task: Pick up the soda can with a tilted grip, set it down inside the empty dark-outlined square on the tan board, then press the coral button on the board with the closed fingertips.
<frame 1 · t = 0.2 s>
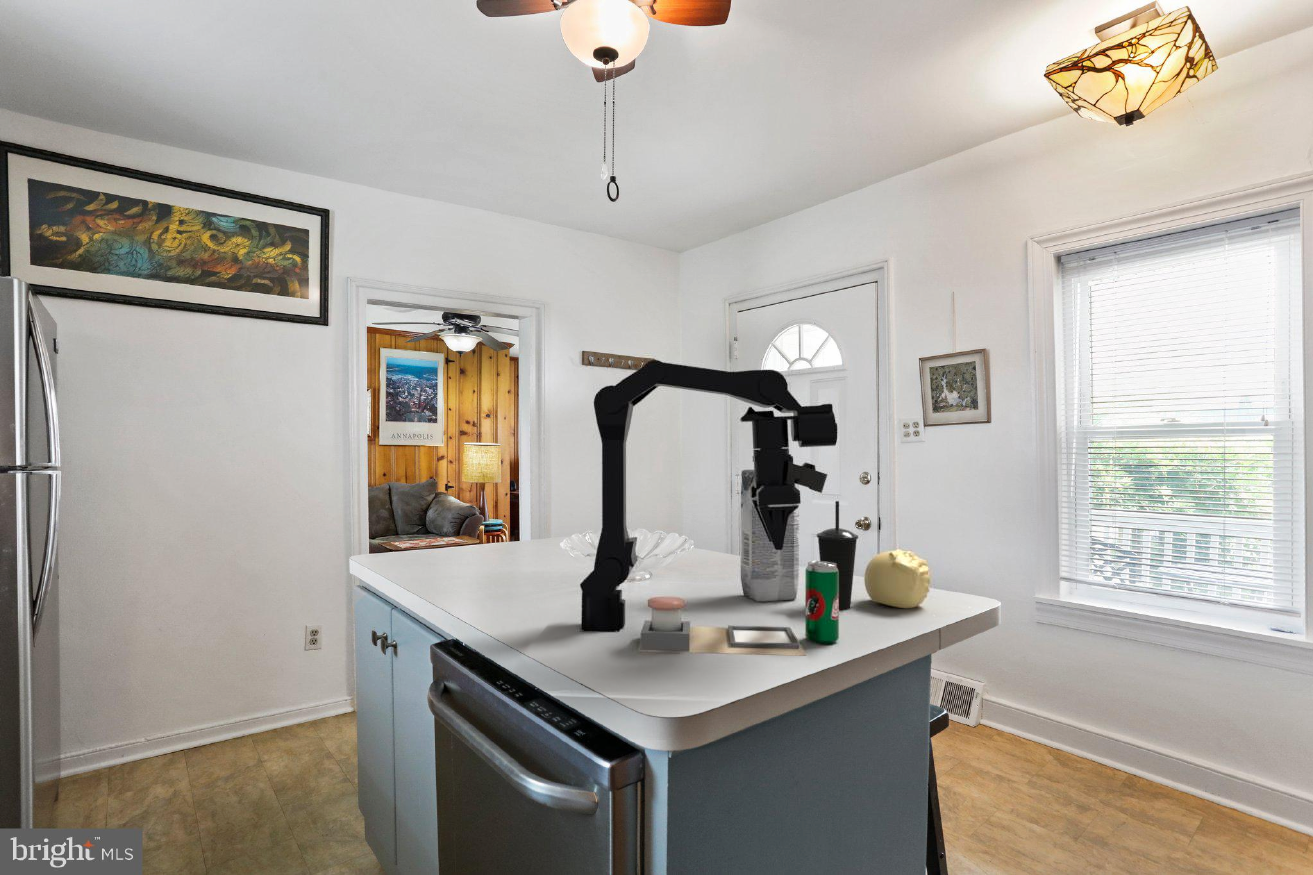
hand: (775, 545, 107), 14 cm above the counter, tool pointing down, fingers open, 9 cm apart
board: (719, 643, 102), on the counter
soda can: (821, 641, 104), on the counter
drinking cup: (837, 607, 126), on the counter
juice carton: (769, 598, 134), on the counter
button housing: (666, 643, 99), resting on board
button: (666, 615, 100), point 5 cm above the counter, slide at 0.0 cm
sculpture: (897, 605, 129), on the counter
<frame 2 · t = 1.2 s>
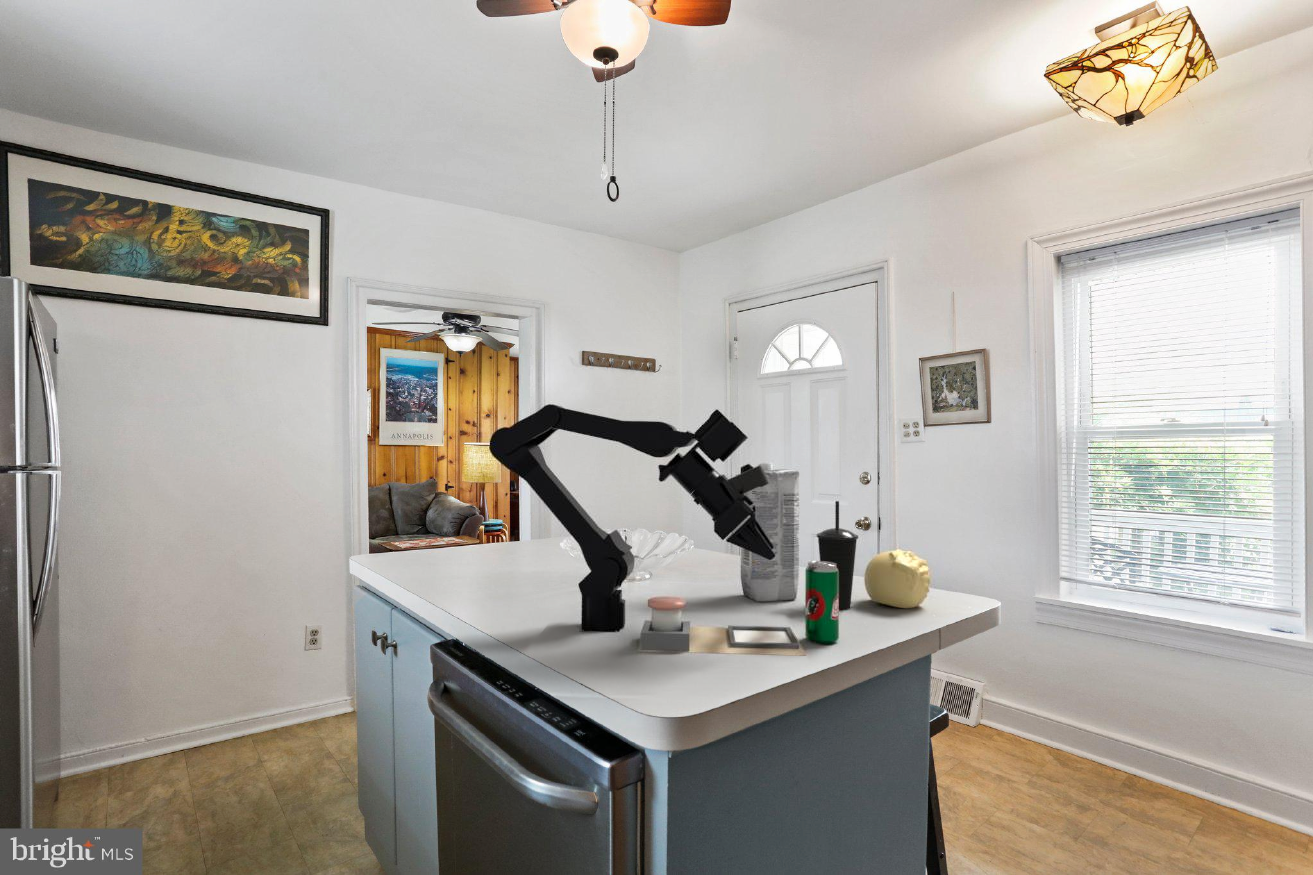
hand: (772, 553, 105), 13 cm above the counter, tool tilted 45°, fingers open, 9 cm apart
nothing on the counter moved.
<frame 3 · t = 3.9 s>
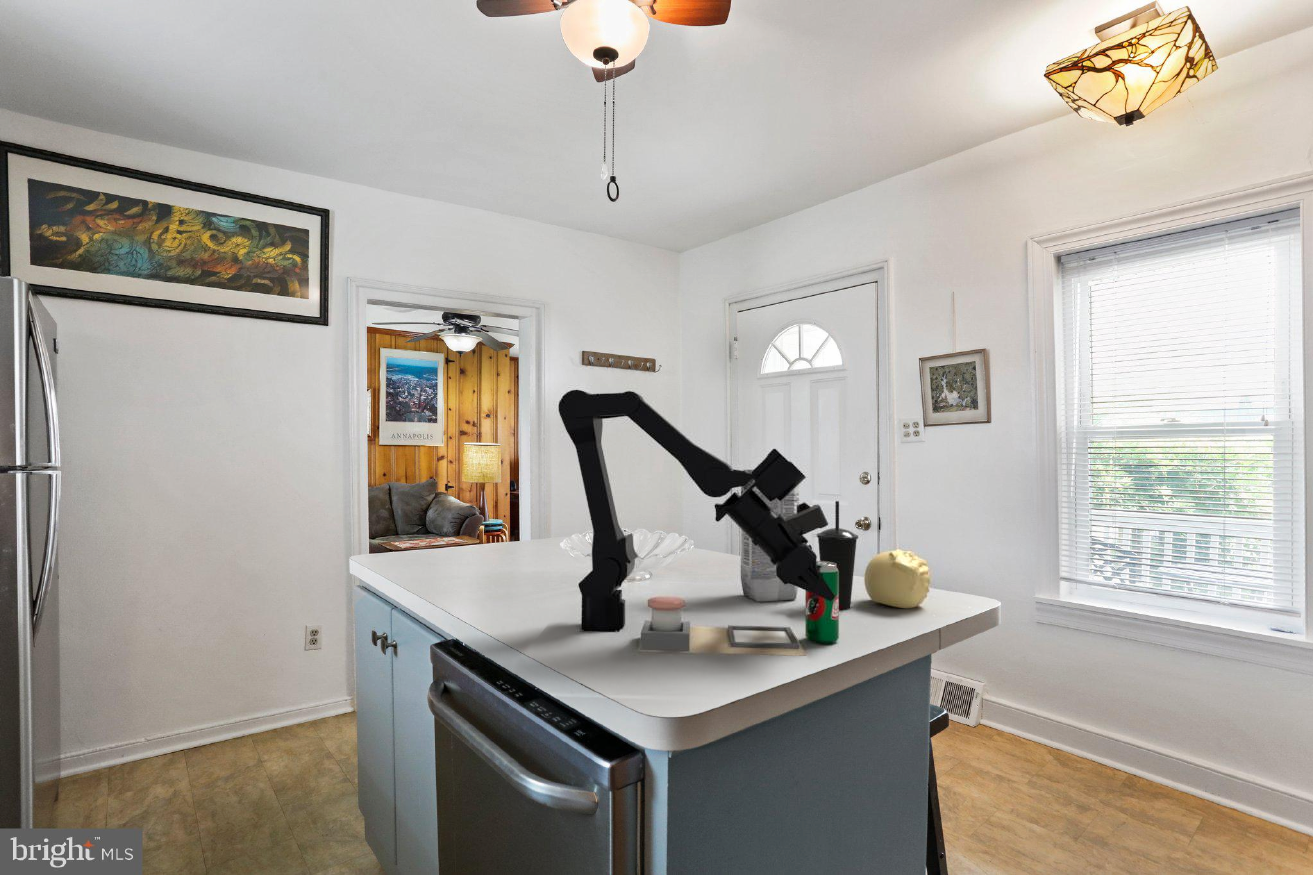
hand: (831, 595, 104), 7 cm above the counter, tool tilted 45°, fingers closed on soda can, 5 cm apart
soda can: (821, 641, 104), on the counter, touching gripper
everything else where it was.
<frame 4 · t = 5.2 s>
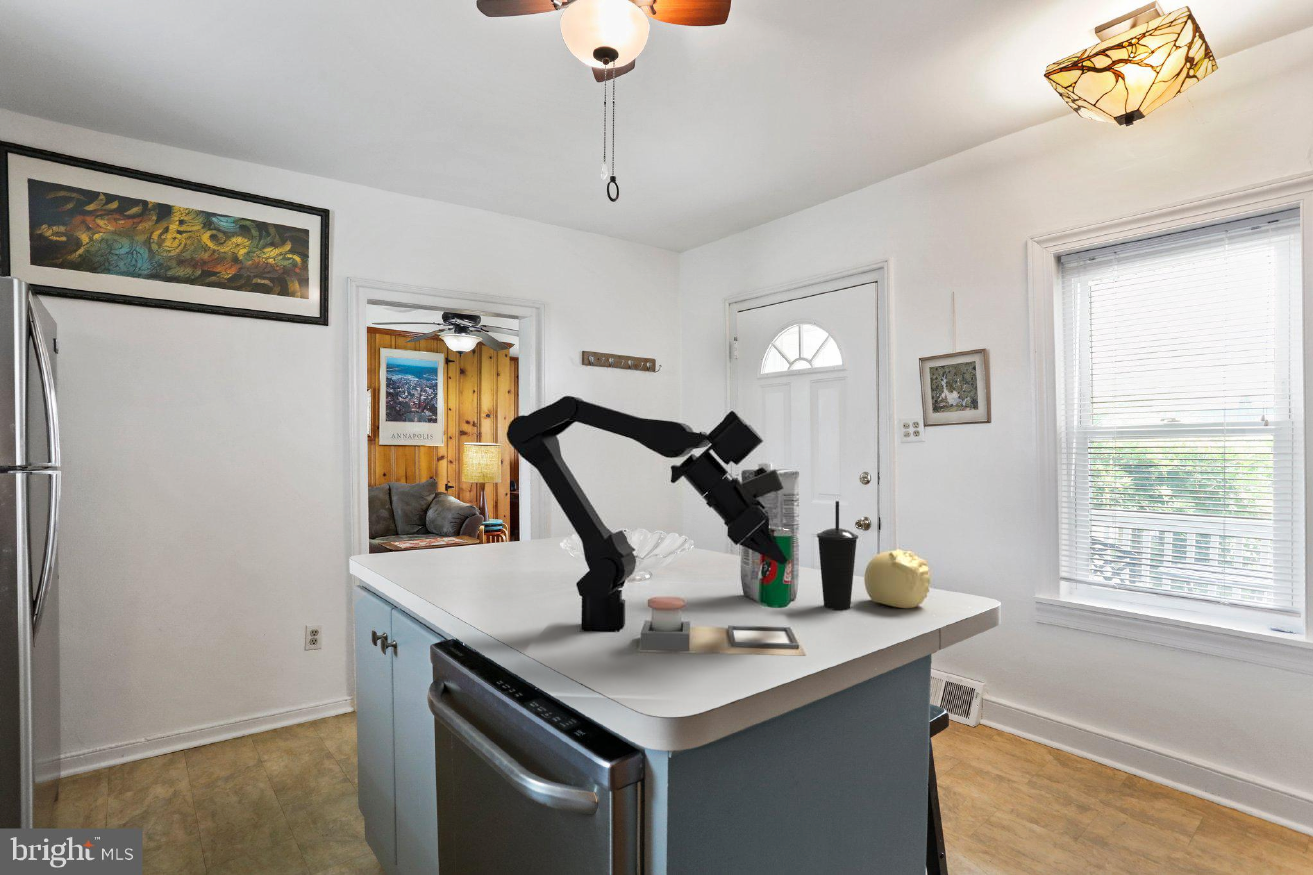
hand: (784, 559, 103), 13 cm above the counter, tool tilted 45°, fingers closed on soda can, 5 cm apart
soda can: (773, 606, 103), point 5 cm above the counter, touching gripper
everything else where it was.
when the fingers open (9 cm above the counter, at t = 6.8 s): soda can stays where it is, resting on board.
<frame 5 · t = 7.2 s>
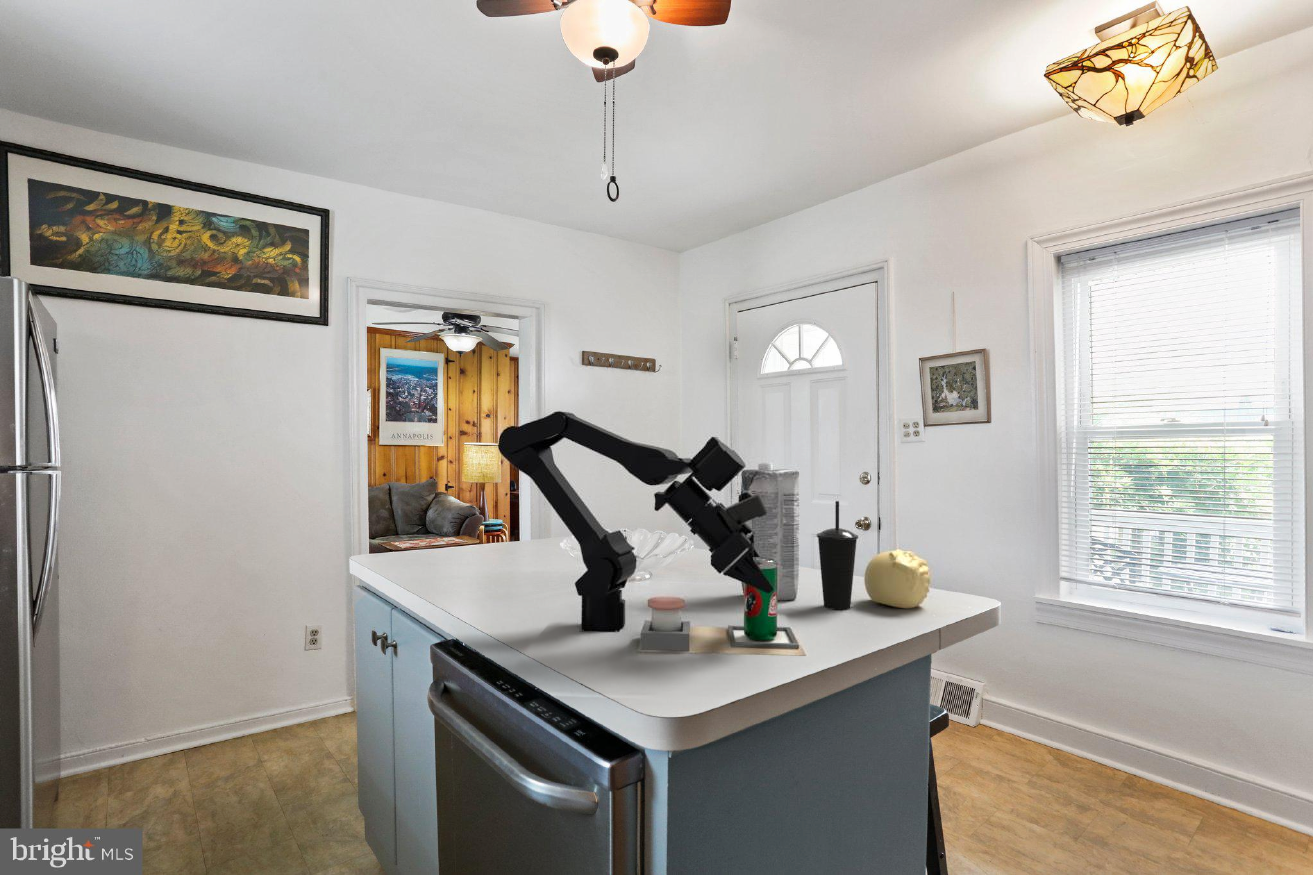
hand: (771, 584, 102), 9 cm above the counter, tool tilted 45°, fingers open, 9 cm apart
soda can: (760, 638, 103), point 1 cm above the counter, touching board
everything else where it was.
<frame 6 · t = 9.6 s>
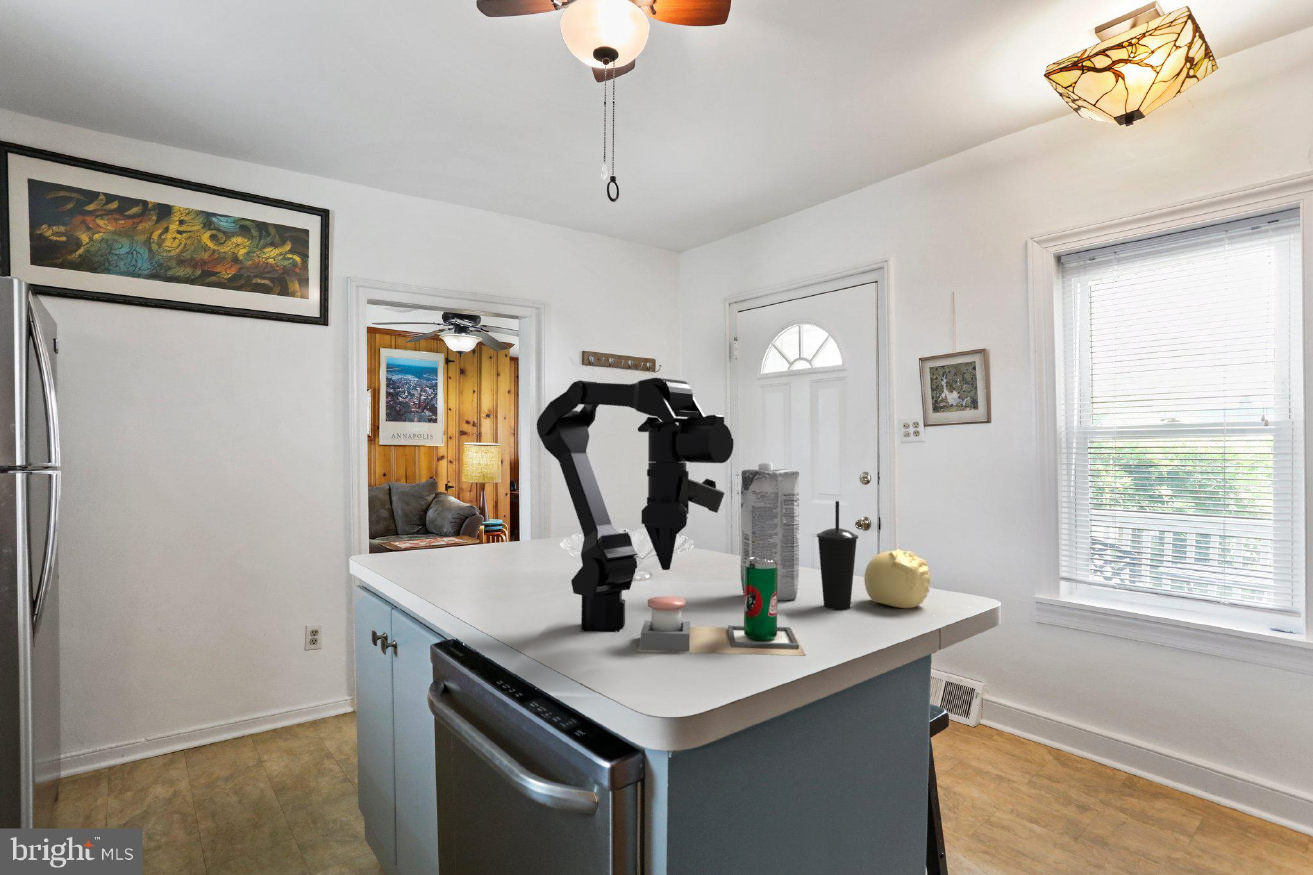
hand: (666, 566, 100), 12 cm above the counter, tool pointing down, fingers open, 5 cm apart
nothing on the counter moved.
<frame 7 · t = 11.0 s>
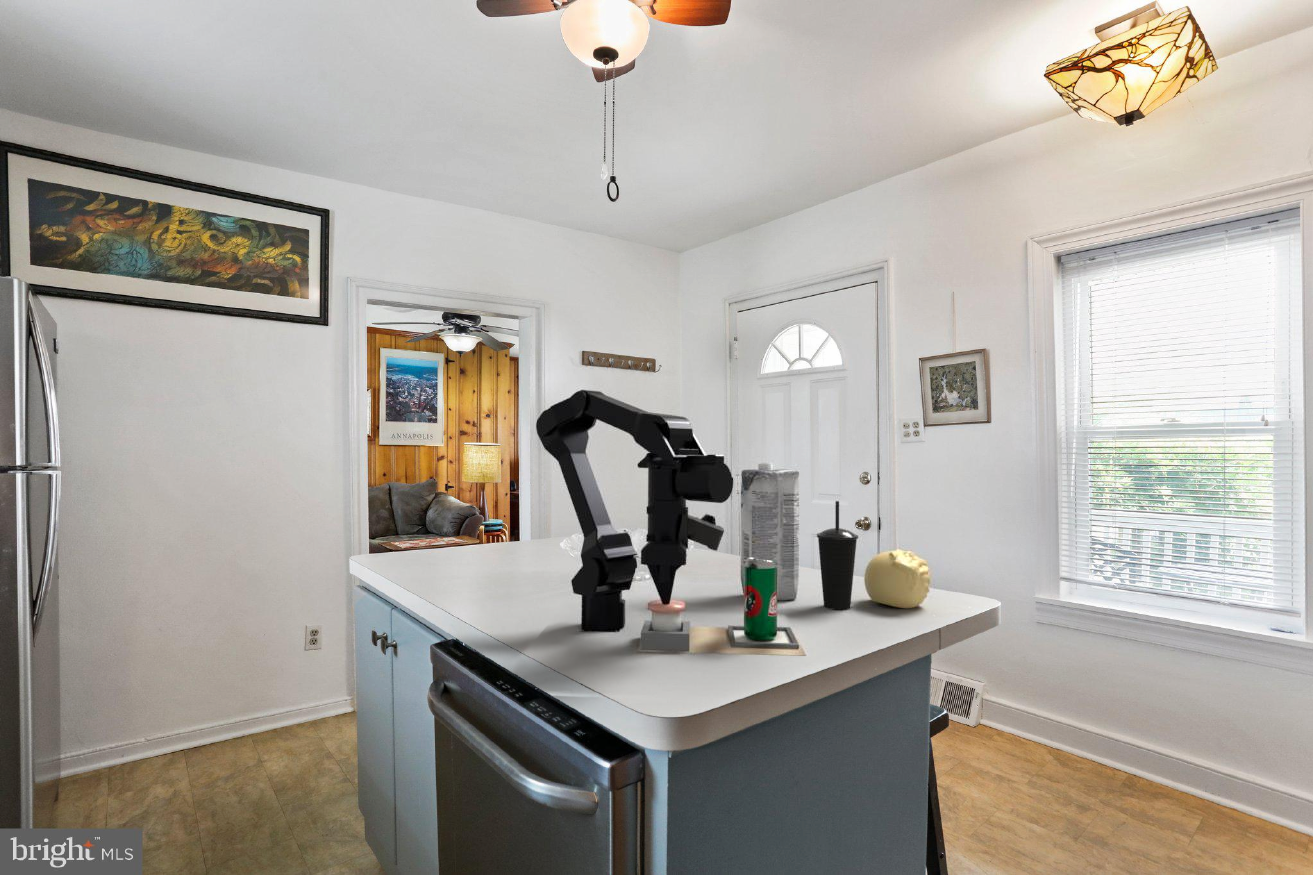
hand: (666, 603, 100), 7 cm above the counter, tool pointing down, fingers closed, pressing on button
button: (666, 618, 100), point 4 cm above the counter, slide at 0.5 cm, touching gripper
everything else where it was.
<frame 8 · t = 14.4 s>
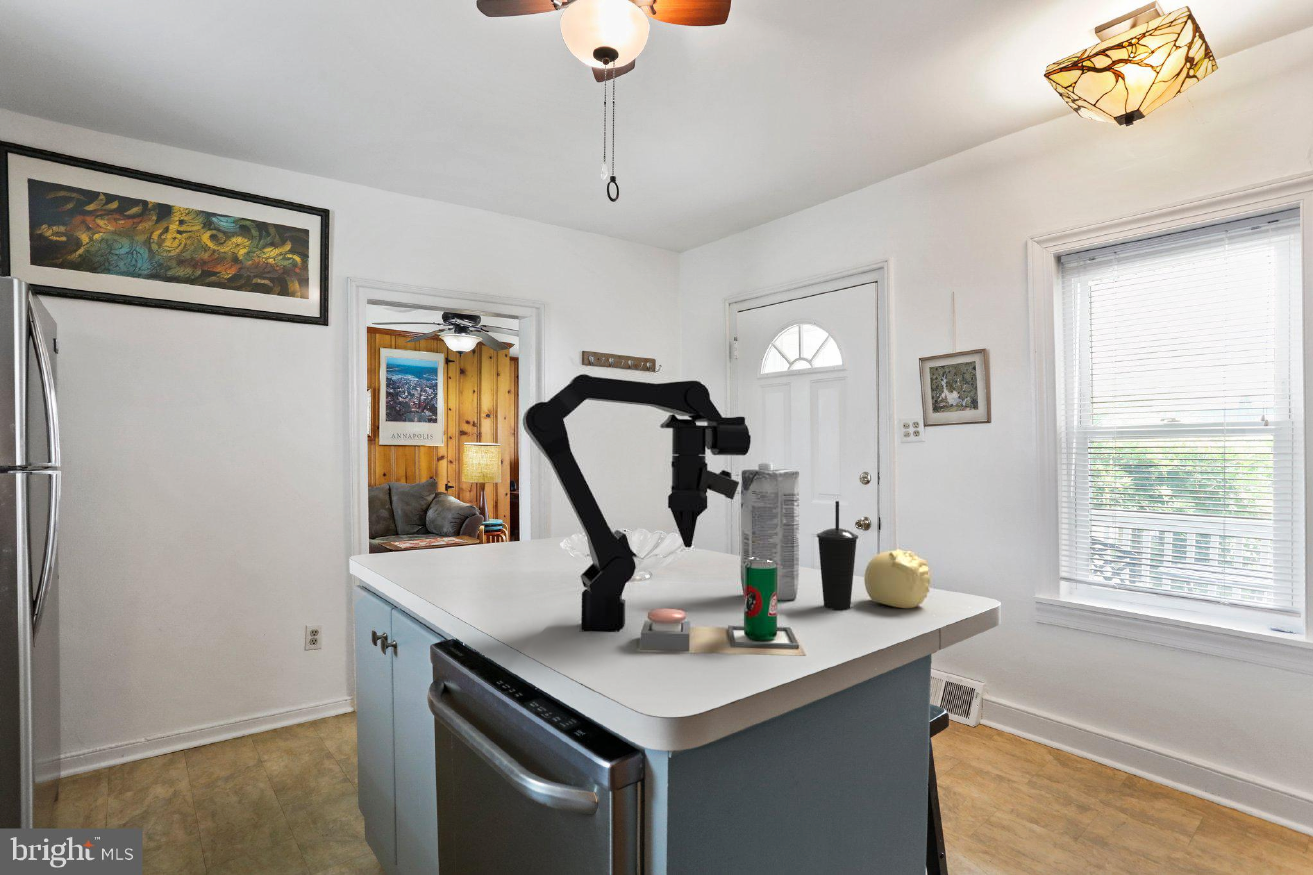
hand: (688, 547, 113), 13 cm above the counter, tool pointing down, fingers closed
button: (666, 627, 99), point 3 cm above the counter, slide at 1.9 cm
everything else where it was.
at the end: soda can inside the target area (0.2 cm from its centre), point 0.5 cm above the counter; soda can tilted 0°; button slide at 1.9 cm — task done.
